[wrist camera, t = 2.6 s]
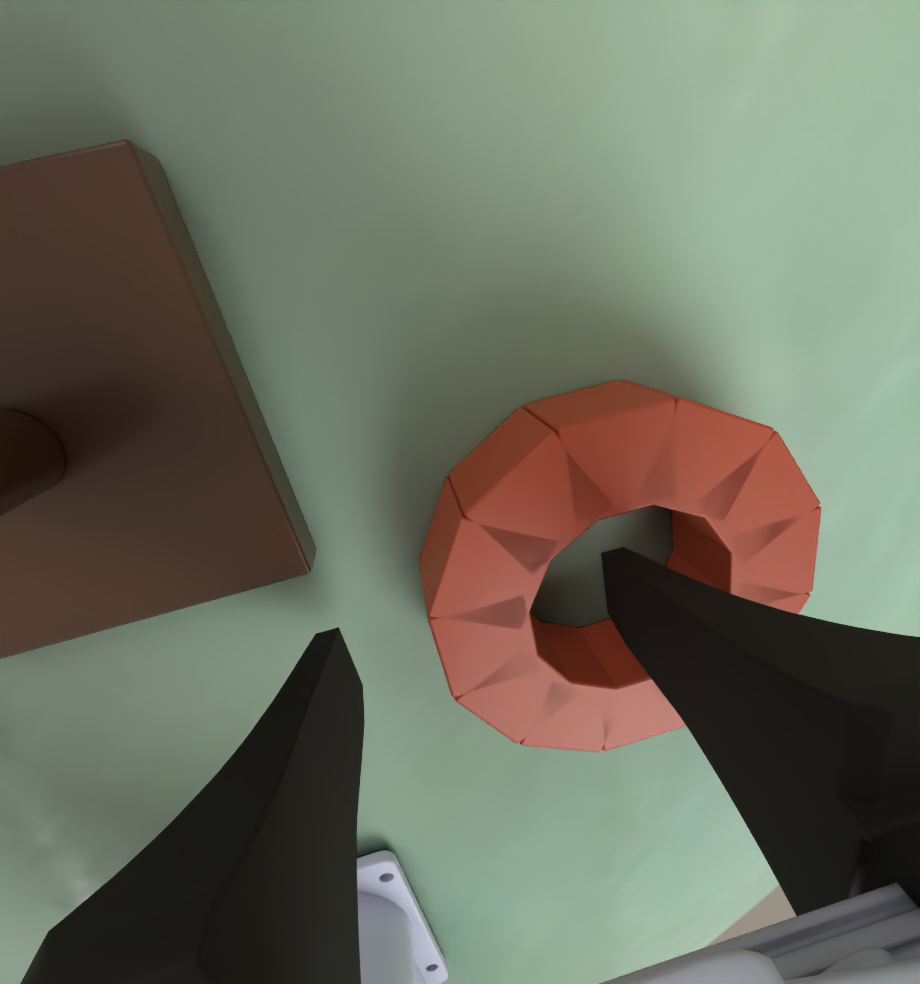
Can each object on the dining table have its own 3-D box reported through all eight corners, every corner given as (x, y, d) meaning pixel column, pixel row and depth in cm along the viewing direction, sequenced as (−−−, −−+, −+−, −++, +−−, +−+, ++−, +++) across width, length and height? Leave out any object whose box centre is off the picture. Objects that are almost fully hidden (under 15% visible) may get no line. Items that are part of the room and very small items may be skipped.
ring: (740, 634, 16) (802, 691, 14) (465, 717, 16) (481, 791, 13) (750, 344, 12) (839, 353, 10) (382, 440, 12) (382, 476, 9)
